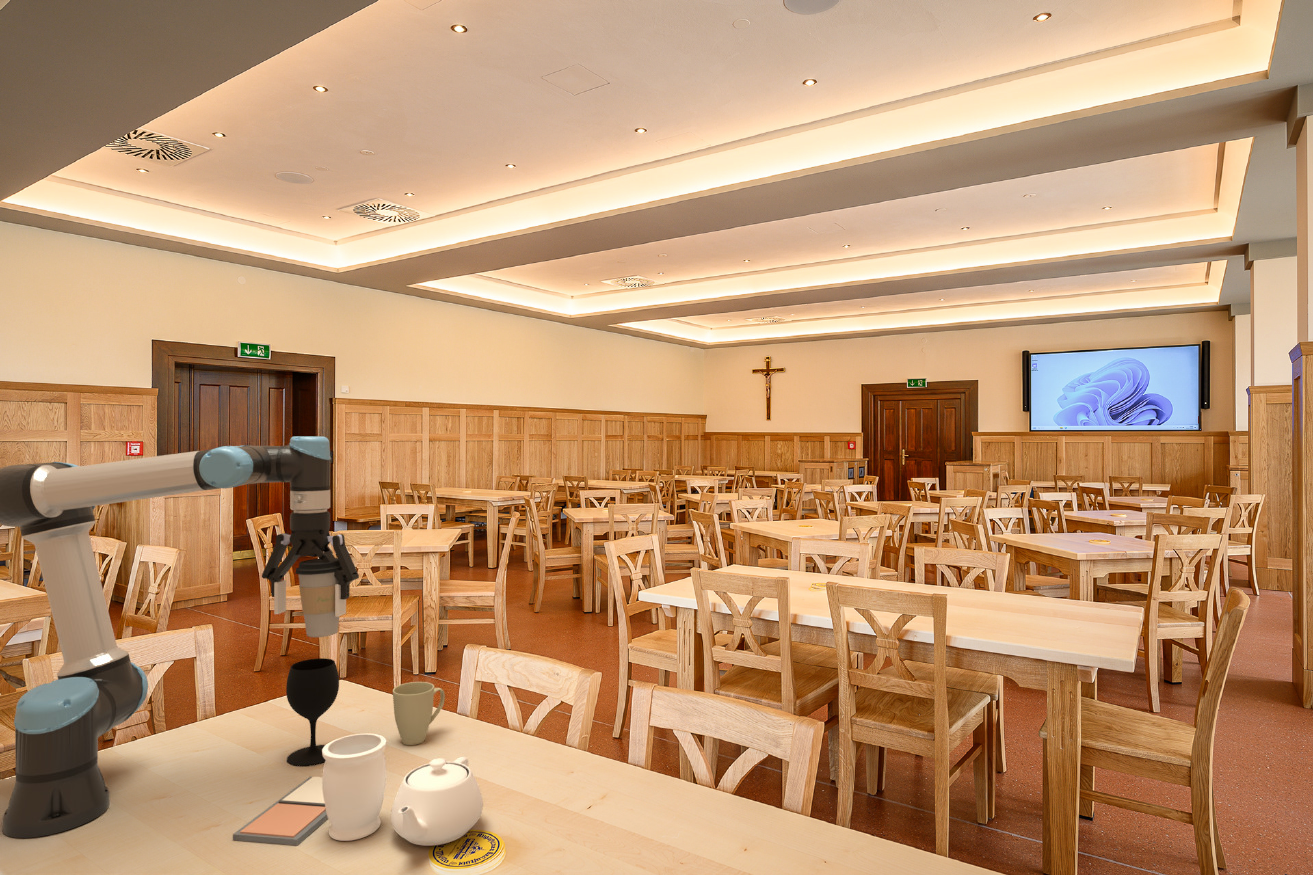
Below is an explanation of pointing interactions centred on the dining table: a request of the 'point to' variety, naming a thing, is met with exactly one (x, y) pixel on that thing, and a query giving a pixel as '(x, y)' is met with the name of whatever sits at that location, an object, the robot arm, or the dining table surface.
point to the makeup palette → (288, 817)
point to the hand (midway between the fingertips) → (310, 614)
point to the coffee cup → (318, 596)
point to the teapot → (437, 803)
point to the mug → (415, 710)
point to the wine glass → (311, 701)
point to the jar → (354, 785)
